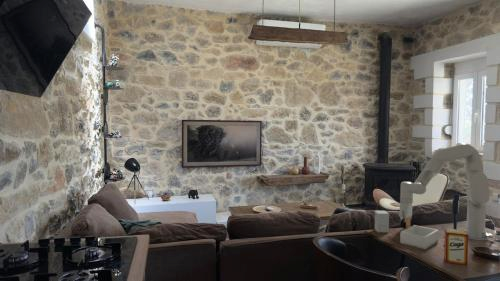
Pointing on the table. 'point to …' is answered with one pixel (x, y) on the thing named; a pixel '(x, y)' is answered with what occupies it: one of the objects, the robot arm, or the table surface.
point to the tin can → (407, 223)
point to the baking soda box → (456, 246)
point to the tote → (419, 237)
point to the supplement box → (381, 221)
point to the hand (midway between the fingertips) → (406, 226)
